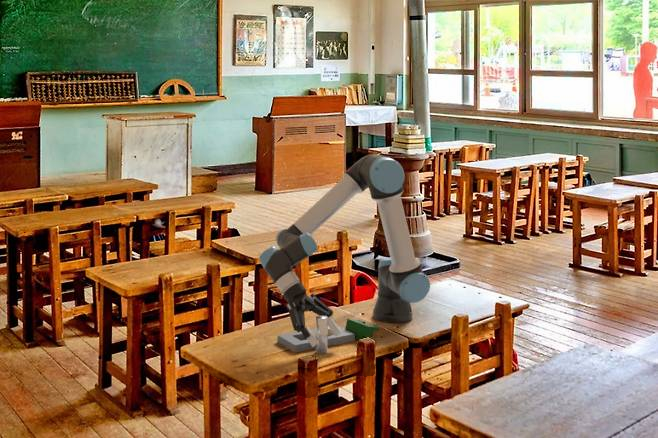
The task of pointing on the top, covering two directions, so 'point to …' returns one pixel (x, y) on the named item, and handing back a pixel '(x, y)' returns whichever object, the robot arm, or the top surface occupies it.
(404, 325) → the top surface
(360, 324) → the green angular block
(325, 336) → the peg
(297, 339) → the bolt plate
